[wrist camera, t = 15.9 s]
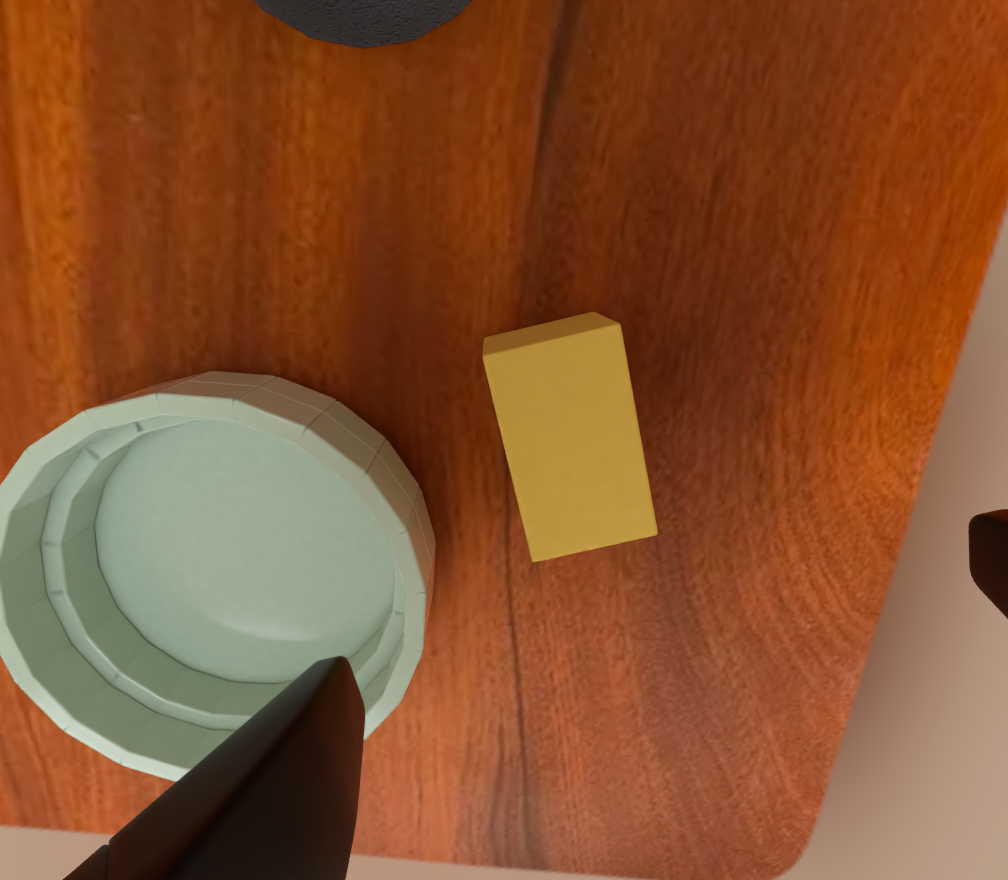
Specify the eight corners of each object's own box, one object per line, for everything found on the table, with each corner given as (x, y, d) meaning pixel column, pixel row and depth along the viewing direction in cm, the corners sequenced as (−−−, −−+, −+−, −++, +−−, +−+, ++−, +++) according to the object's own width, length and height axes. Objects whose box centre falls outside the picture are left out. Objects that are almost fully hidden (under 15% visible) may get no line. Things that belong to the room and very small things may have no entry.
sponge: (627, 485, 21) (658, 535, 17) (524, 509, 21) (532, 563, 17) (594, 310, 19) (620, 322, 16) (482, 337, 20) (481, 355, 16)
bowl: (474, 655, 23) (471, 740, 19) (157, 724, 23) (88, 821, 19) (380, 328, 19) (351, 345, 15) (13, 416, 20) (-108, 456, 16)
